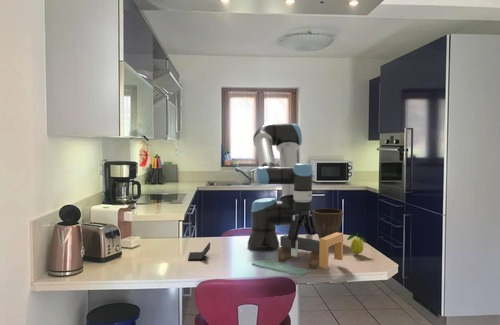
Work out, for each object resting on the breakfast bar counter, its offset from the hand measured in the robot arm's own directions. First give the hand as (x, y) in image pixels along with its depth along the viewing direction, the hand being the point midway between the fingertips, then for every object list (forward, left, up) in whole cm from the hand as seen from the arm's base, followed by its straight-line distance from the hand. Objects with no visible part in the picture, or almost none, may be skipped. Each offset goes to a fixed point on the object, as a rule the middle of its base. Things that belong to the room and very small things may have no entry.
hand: (301, 252), depth 167 cm
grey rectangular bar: (0, 0, +2) cm, 2 cm away
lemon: (+13, +26, -4) cm, 29 cm away
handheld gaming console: (-39, -21, -5) cm, 45 cm away
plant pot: (-8, +39, -4) cm, 40 cm away
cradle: (0, 0, -4) cm, 4 cm away
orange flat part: (+13, 0, -2) cm, 14 cm away
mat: (-3, -12, -4) cm, 13 cm away
